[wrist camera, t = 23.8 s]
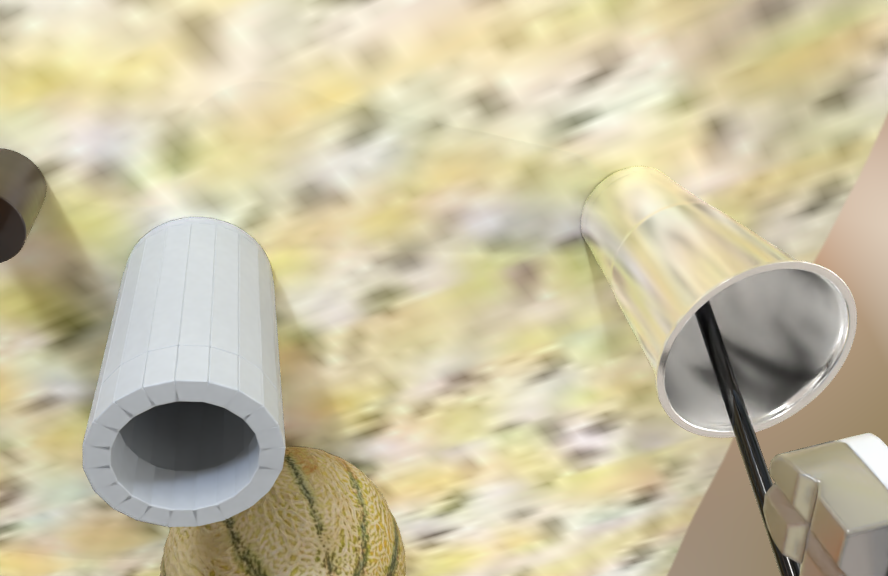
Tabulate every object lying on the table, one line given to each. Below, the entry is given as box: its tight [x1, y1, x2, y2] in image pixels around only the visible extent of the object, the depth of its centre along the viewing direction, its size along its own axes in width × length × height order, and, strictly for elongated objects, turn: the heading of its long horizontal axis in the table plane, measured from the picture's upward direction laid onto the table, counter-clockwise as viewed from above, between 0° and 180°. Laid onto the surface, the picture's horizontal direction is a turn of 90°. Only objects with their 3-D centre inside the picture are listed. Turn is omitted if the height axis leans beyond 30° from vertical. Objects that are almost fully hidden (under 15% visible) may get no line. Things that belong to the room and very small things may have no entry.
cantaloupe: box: [160, 446, 406, 576], centre depth 50 cm, size 15×15×15 cm
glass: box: [581, 166, 857, 576], centre depth 39 cm, size 11×11×30 cm
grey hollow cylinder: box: [83, 217, 286, 527], centre depth 41 cm, size 8×8×15 cm
